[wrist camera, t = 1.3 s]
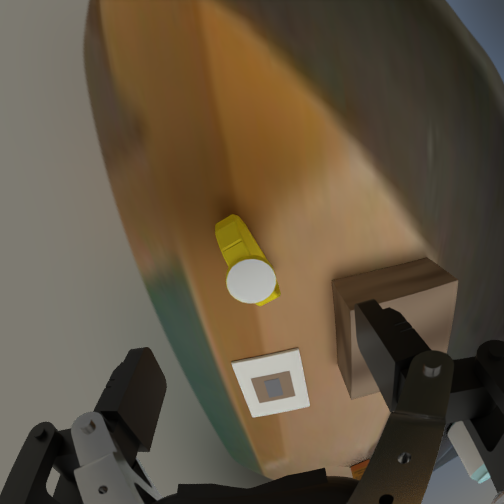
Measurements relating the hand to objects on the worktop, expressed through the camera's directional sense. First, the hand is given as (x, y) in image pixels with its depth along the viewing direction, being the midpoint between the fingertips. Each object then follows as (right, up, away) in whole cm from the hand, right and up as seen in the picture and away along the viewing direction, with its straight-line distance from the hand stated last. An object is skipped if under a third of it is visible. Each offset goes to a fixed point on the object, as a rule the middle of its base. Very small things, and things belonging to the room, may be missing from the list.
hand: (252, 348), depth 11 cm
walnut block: (+12, -2, +14) cm, 18 cm away
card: (+2, -9, +16) cm, 18 cm away
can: (+33, -23, +22) cm, 46 cm away
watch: (0, +4, +11) cm, 12 cm away
